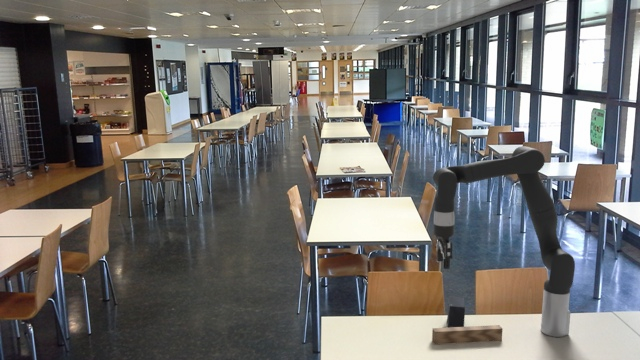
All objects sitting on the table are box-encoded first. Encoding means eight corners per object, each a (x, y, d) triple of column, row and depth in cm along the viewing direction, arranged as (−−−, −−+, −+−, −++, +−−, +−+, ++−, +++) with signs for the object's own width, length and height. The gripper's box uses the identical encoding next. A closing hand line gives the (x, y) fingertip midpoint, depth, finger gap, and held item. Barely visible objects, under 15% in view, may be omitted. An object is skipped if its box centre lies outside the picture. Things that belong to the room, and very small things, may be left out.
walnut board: (498, 337, 210) (499, 325, 209) (501, 340, 207) (502, 328, 206) (432, 340, 207) (432, 328, 206) (434, 344, 204) (434, 331, 203)
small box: (464, 332, 214) (465, 307, 212) (447, 330, 215) (448, 305, 213) (463, 320, 224) (464, 296, 222) (446, 319, 225) (447, 295, 224)
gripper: (459, 227, 195) (458, 270, 198) (448, 217, 209) (447, 258, 212) (439, 228, 194) (438, 271, 197) (429, 218, 208) (428, 259, 211)
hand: (443, 264), depth 204 cm, fingers open, 8 cm apart
